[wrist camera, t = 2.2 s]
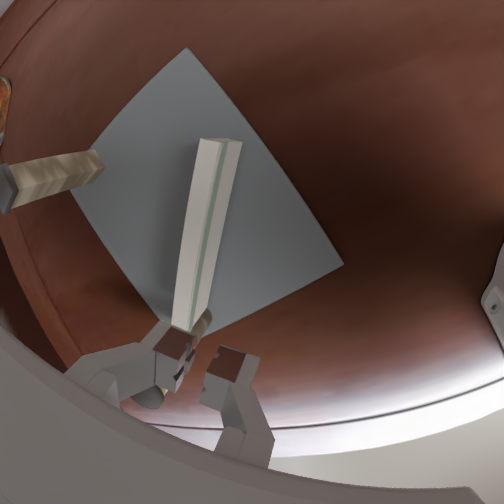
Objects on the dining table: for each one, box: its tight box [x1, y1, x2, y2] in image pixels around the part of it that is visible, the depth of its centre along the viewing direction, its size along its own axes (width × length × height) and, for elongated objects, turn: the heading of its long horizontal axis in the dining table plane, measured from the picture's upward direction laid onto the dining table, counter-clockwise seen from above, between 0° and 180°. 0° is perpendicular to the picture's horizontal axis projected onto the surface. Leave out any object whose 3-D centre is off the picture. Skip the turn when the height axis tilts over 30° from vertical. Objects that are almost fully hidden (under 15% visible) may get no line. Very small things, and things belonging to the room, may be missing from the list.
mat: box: [69, 47, 344, 338], centre depth 32 cm, size 28×24×1 cm
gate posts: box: [0, 150, 212, 409], centre depth 28 cm, size 26×4×15 cm, turn 36°
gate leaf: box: [171, 138, 243, 332], centre depth 28 cm, size 19×2×6 cm, turn 166°
